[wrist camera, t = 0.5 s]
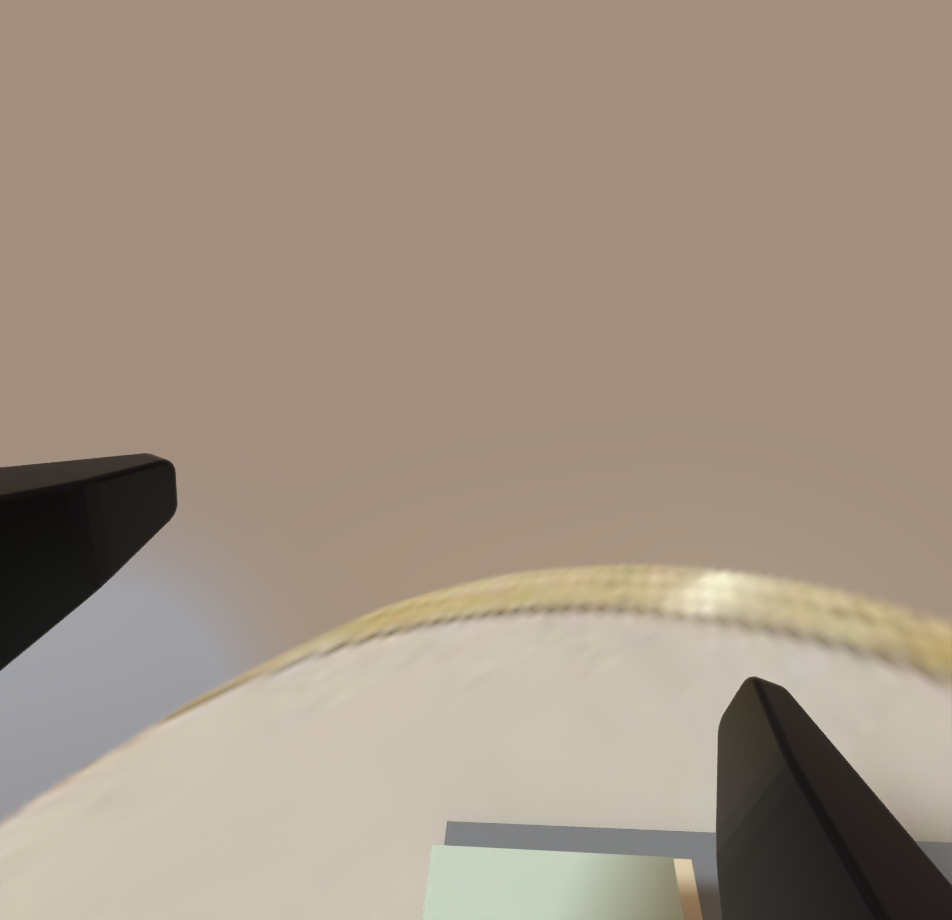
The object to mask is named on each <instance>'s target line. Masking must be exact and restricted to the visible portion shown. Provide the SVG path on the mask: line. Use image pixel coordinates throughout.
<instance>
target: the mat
mask: <svg viewBox="0 0 952 920" xmlns="http://www.w3.org/2000/svg"><path fill="white" fill-rule="evenodd" d="M915 842H916V841H915ZM916 843H917V844H918V845H919V847H920V848H921V849H922V850H923V851H924V852H925V854H926V855H927V856H928V857H929V858H930V860H931V861H932V862H933V863H934V864H935V865H936V867H937V868H938V869H939V870H940V871H941V873H942V874H943V875H944V876H945V877H946V878H947V880H948V881H949V882H950V883H951V884H952V843H939V842H916ZM445 845H448V846H467V847H486V848H505V849H525V850H544V851H563V852H583V853H602V854H621V855H640V856H660V857H673V859H691V861H692V866H693V871H694V876H695V882H696V887H697V892H698V897H699V902H700V908H701V913H702V918H703V920H721V912H720V901H719V889H718V878H717V861H716V833H707V832H684V831H660V830H637V829H614V828H591V827H568V826H544V825H521V824H498V823H475V822H451V821H447V827H446V836H445Z"/></svg>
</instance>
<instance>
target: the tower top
mask: <svg viewBox="0 0 952 920" xmlns="http://www.w3.org/2000/svg"><path fill="white" fill-rule="evenodd" d="M422 920H684V918H683V912H682V906H681V900H680V894H679V888H678V882H677V877H676V871H675V865H674V859H673V857H660V856H640V855H621V854H602V853H583V852H563V851H544V850H525V849H505V848H486V847H467V846H448V845H432V847H431V855H430V863H429V870H428V878H427V886H426V893H425V901H424V909H423V917H422Z"/></svg>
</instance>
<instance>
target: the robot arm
mask: <svg viewBox="0 0 952 920" xmlns="http://www.w3.org/2000/svg"><path fill="white" fill-rule="evenodd" d="M176 508H177V489H176V472H175V468H174V466H173V464H172V463H171V462H170V461H168V460H166V459H163V458H161V457H158V456H155V455H152V454H146V453H143V454H133V455H123V456H113V457H102V458H92V459H82V460H72V461H63V462H52V463H42V464H32V465H21V466H12V467H1V468H0V671H1V670H2V669H3V668H5V667H6V666H7V665H8V664H9V663H10V662H12V661H13V660H14V659H15V658H17V657H18V656H19V655H20V654H21V653H23V652H24V651H25V650H26V649H27V648H29V647H30V646H31V645H32V644H34V643H35V642H36V641H37V640H38V639H40V638H41V637H42V636H43V635H45V634H46V633H47V632H48V631H49V630H51V629H52V628H53V627H54V626H55V625H57V623H59V622H60V621H61V620H63V619H64V618H65V617H66V616H68V615H69V614H70V613H71V612H72V611H74V610H75V609H76V608H77V607H79V606H80V605H81V604H82V603H83V602H85V601H86V600H87V599H88V598H89V597H90V596H92V595H93V594H94V593H95V592H96V591H97V590H98V589H100V588H101V587H102V586H103V585H104V584H105V583H106V582H107V581H108V580H109V579H110V578H111V577H113V576H114V575H115V573H117V572H118V571H119V570H120V568H122V567H123V566H124V565H125V564H126V563H127V562H128V561H129V560H130V559H131V558H132V557H133V556H134V555H135V554H136V553H137V552H138V551H139V550H140V549H141V548H142V547H143V546H144V545H145V544H146V543H147V542H148V541H149V540H150V539H151V538H152V537H153V536H154V535H155V534H156V533H157V532H158V531H159V530H160V529H161V528H162V527H164V525H166V524H167V523H168V522H169V521H170V519H171V518H172V517H173V515H174V514H175V511H176ZM716 861H717V878H718V889H719V901H720V912H721V920H952V884H951V883H950V882H949V881H948V880H947V878H946V877H945V876H944V875H943V874H942V873H941V871H940V870H939V869H938V868H937V867H936V865H935V864H934V863H933V862H932V861H931V860H930V858H929V857H928V856H927V855H926V854H925V852H924V851H923V850H922V849H921V848H920V847H919V845H918V844H917V843H916V842H915V841H914V839H913V838H912V837H911V836H910V835H909V834H908V832H907V831H906V830H905V829H904V828H903V826H902V825H901V824H900V823H899V822H898V821H897V819H896V818H895V817H894V816H893V815H892V813H891V812H890V811H889V810H888V809H887V808H886V806H885V805H884V804H883V803H882V802H881V800H880V799H879V798H878V797H877V796H876V795H875V793H874V792H873V791H872V790H871V789H870V787H869V786H868V785H867V784H866V783H865V782H864V780H863V779H862V778H861V777H860V776H859V774H858V773H857V772H856V771H855V770H854V769H853V767H852V766H851V765H850V764H849V763H848V761H847V760H846V759H845V758H844V757H843V756H842V754H841V753H840V752H839V751H838V750H837V748H836V747H835V746H834V745H833V744H832V743H831V741H830V740H829V739H828V738H827V737H826V735H825V734H824V733H823V732H822V731H821V730H820V728H819V727H818V726H817V725H816V724H815V722H814V721H813V720H812V719H811V718H810V717H809V715H808V714H807V713H806V712H805V711H804V709H803V708H802V707H801V706H800V705H799V704H798V702H797V701H796V700H795V699H794V698H793V696H792V695H791V694H790V693H789V692H788V691H787V690H786V689H785V688H784V687H782V686H780V685H777V684H774V683H772V682H769V681H766V680H764V679H761V678H758V677H749V678H747V679H746V680H745V681H744V682H743V684H742V685H741V687H740V689H739V690H738V692H737V693H736V695H735V696H734V698H733V700H732V701H731V703H730V704H729V706H728V708H727V709H726V711H725V712H724V714H723V716H722V718H721V721H720V724H719V730H718V757H717V807H716Z"/></svg>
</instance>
